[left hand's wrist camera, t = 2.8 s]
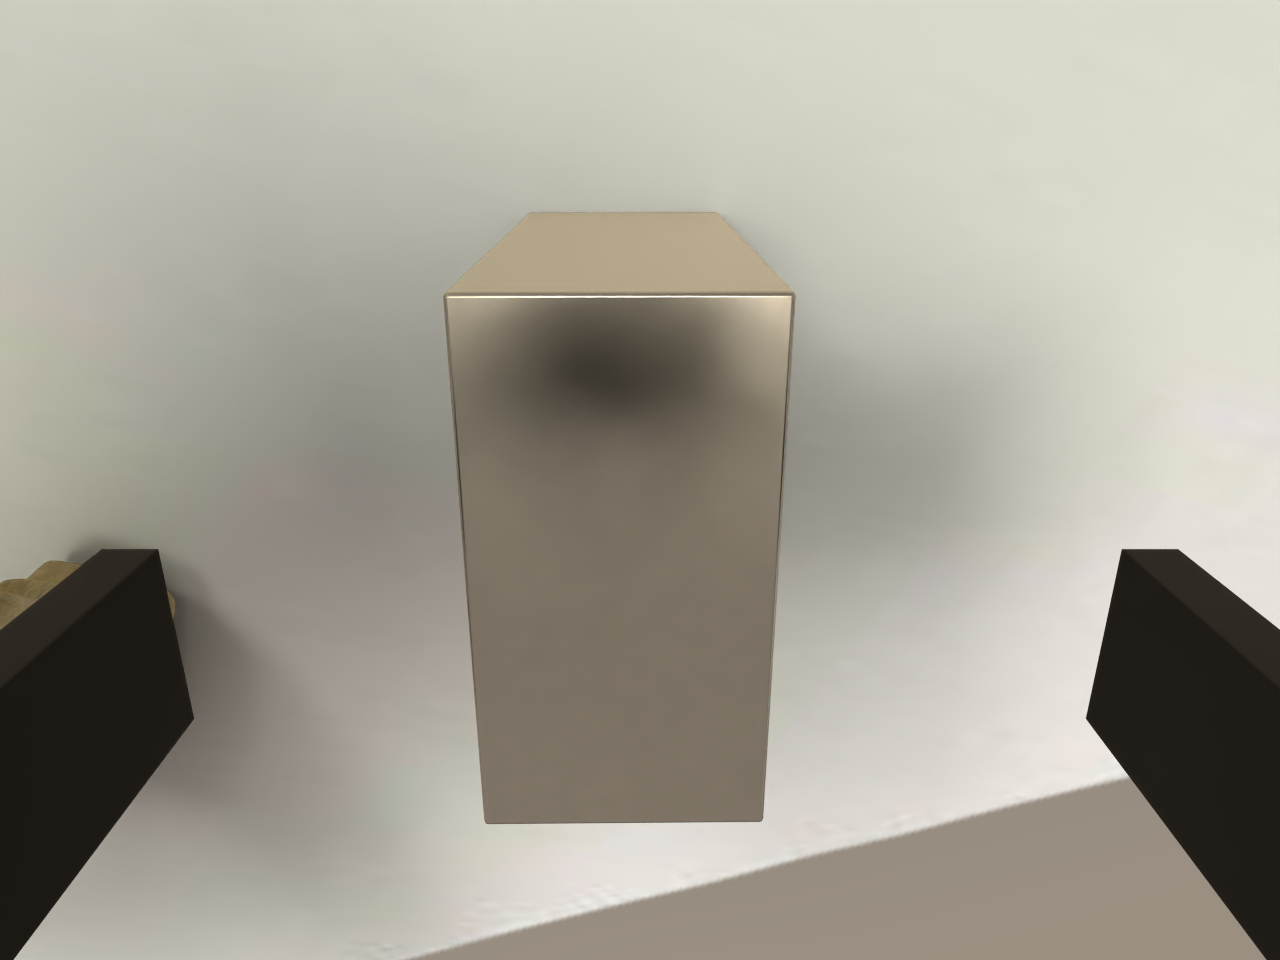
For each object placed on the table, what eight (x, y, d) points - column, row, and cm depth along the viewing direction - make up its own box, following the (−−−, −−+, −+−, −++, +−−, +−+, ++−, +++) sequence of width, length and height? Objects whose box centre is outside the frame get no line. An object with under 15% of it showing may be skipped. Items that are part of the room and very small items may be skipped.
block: (718, 212, 23) (796, 291, 12) (708, 537, 26) (763, 823, 15) (529, 212, 23) (442, 292, 12) (543, 538, 26) (484, 825, 15)
